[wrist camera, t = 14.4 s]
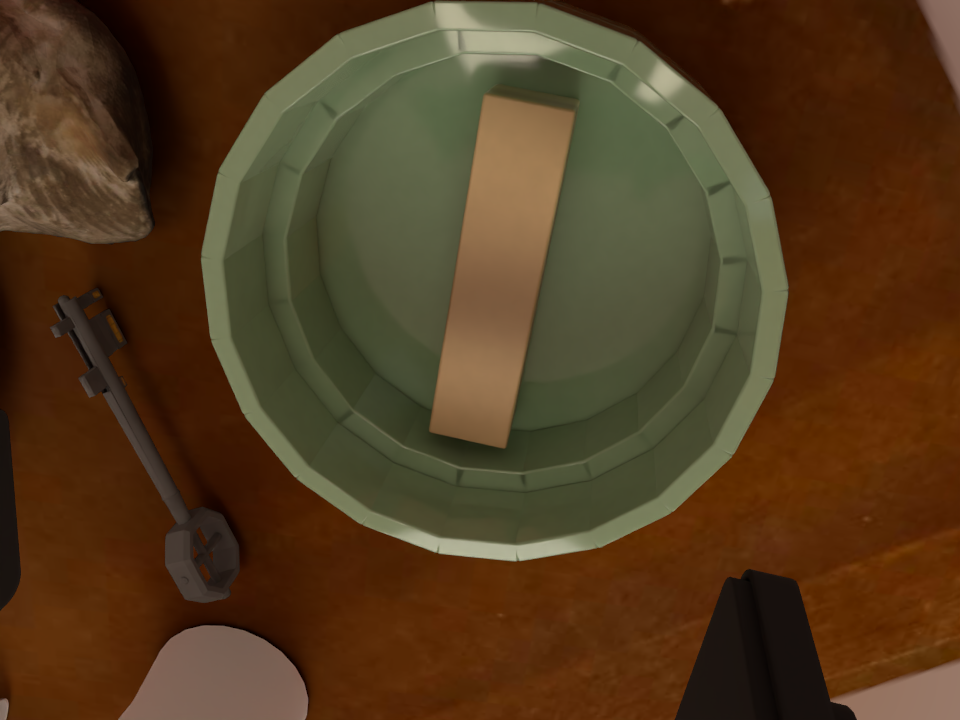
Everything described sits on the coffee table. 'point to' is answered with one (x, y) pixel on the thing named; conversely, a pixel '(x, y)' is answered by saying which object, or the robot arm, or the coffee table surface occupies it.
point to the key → (151, 458)
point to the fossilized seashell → (70, 127)
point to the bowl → (430, 271)
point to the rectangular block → (501, 260)
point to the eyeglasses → (3, 708)
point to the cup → (220, 680)
